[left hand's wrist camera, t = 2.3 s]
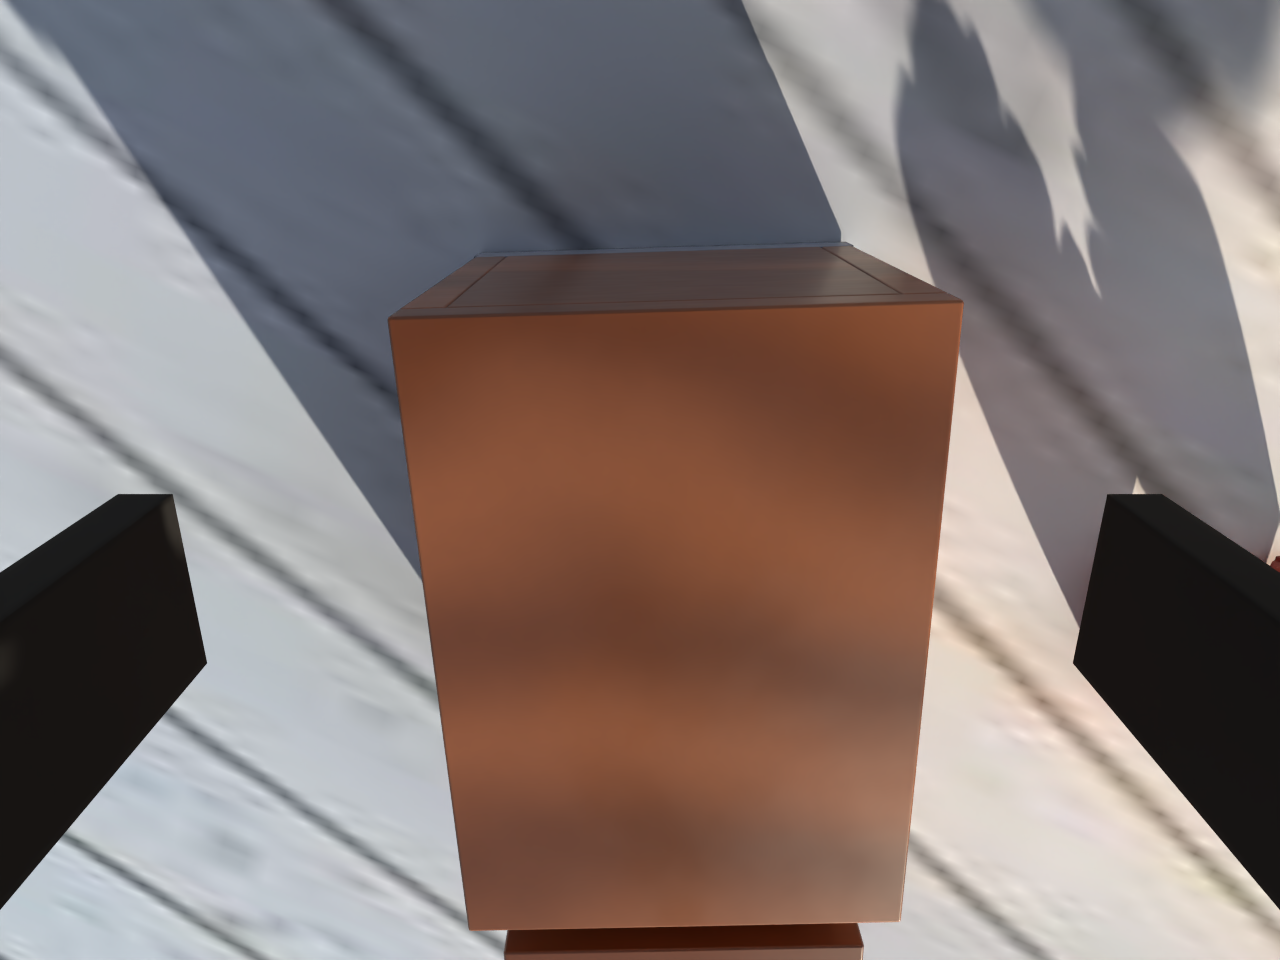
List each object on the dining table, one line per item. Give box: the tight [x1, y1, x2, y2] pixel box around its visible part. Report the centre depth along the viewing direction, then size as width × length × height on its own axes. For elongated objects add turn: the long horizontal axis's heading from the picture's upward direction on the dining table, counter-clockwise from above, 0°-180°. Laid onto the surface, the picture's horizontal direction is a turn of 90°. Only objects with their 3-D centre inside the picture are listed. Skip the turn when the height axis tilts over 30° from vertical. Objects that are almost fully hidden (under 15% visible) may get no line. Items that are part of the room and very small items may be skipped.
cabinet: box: [388, 242, 964, 931], centre depth 25 cm, size 16×11×11 cm
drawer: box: [504, 923, 864, 960], centre depth 27 cm, size 20×10×9 cm, turn 2°
